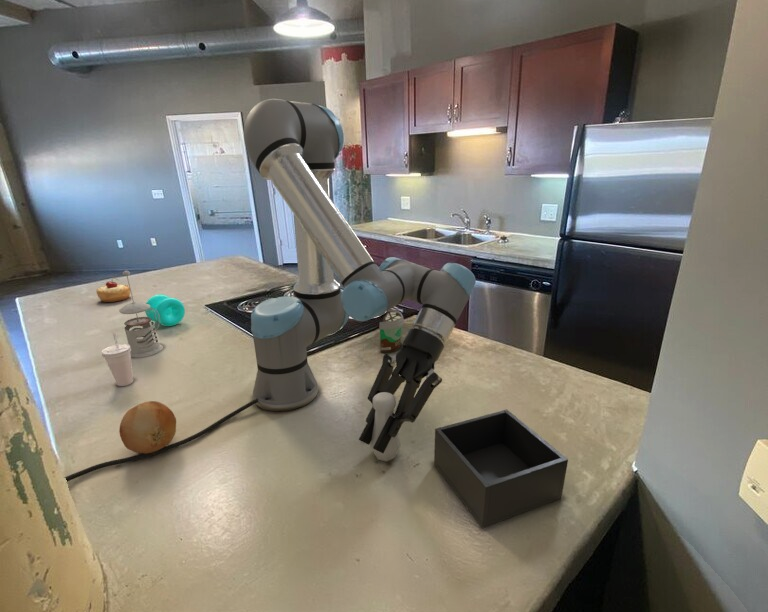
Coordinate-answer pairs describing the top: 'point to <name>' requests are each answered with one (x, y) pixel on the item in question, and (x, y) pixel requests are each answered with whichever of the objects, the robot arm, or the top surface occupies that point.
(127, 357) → the smoothie
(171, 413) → the onion
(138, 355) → the french press
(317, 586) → the top surface
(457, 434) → the basket
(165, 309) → the turquoise short spool shape
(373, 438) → the salt shaker
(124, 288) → the pastry
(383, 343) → the food container
